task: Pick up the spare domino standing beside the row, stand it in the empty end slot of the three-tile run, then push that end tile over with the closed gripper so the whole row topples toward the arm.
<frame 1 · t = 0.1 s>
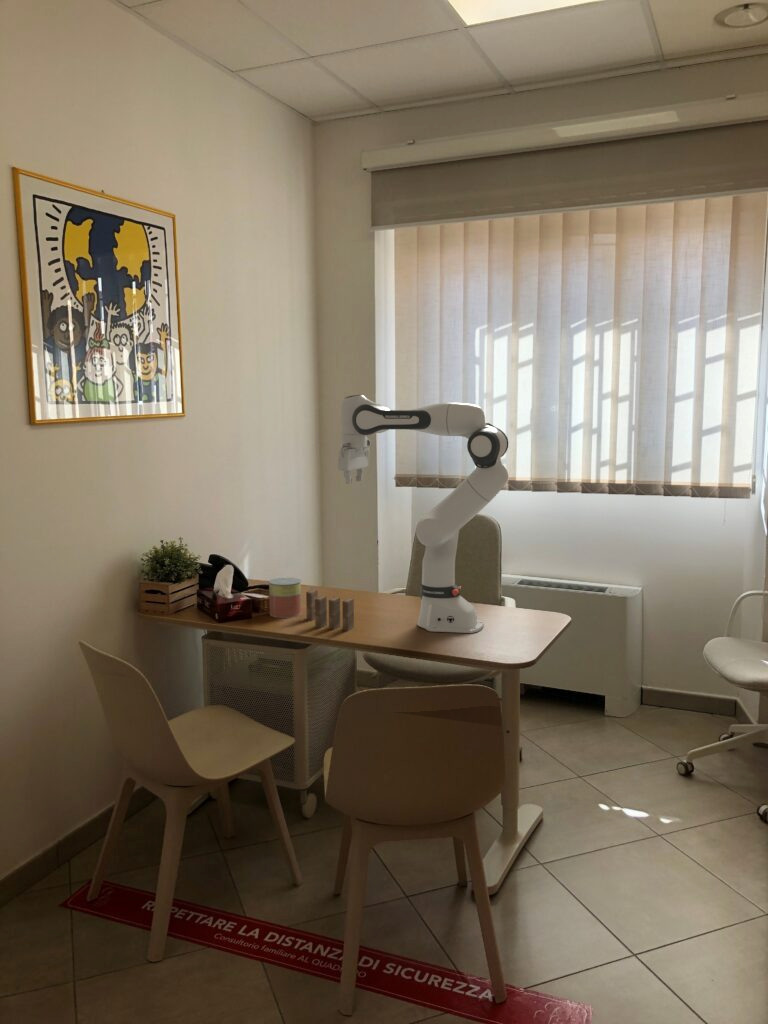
hand: (353, 482, 297), 48 cm above the table, fingers open, 8 cm apart
domino 2: (334, 627, 290), on the table
domino 1: (348, 628, 289), on the table
canned food: (285, 614, 309), on the table
domino 3: (321, 626, 292), on the table
spare domino: (312, 618, 302), on the table
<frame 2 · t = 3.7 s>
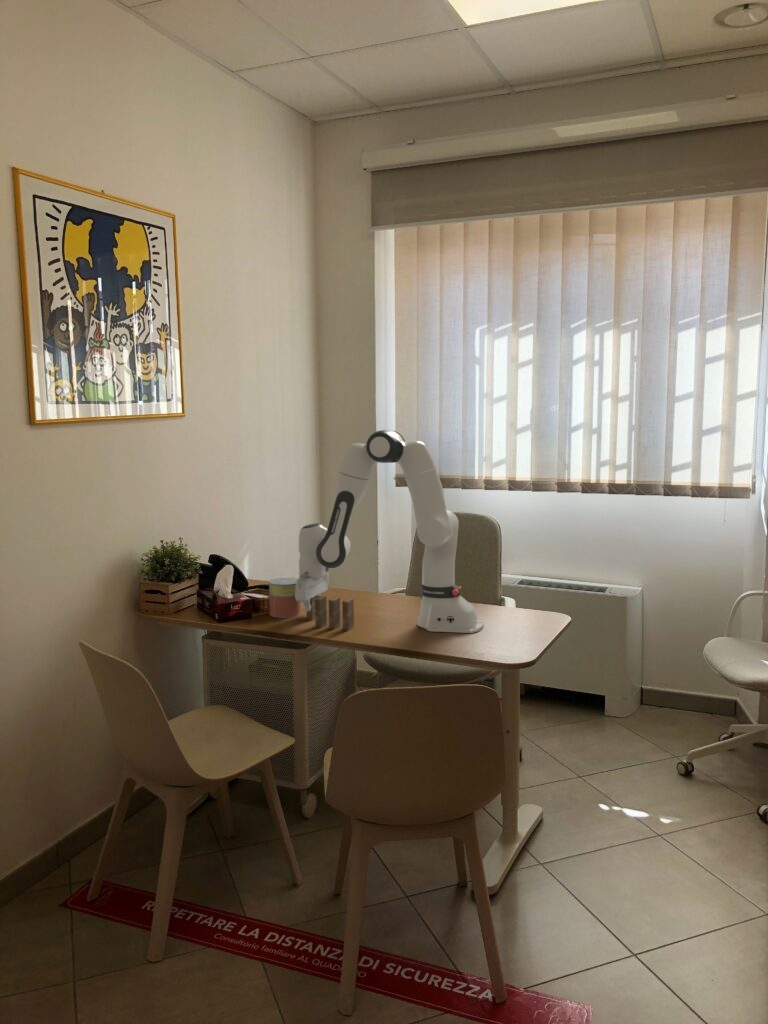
hand: (312, 608, 301), 4 cm above the table, fingers closed on spare domino, 5 cm apart
spare domino: (312, 618, 302), on the table, touching gripper
everything else where it was.
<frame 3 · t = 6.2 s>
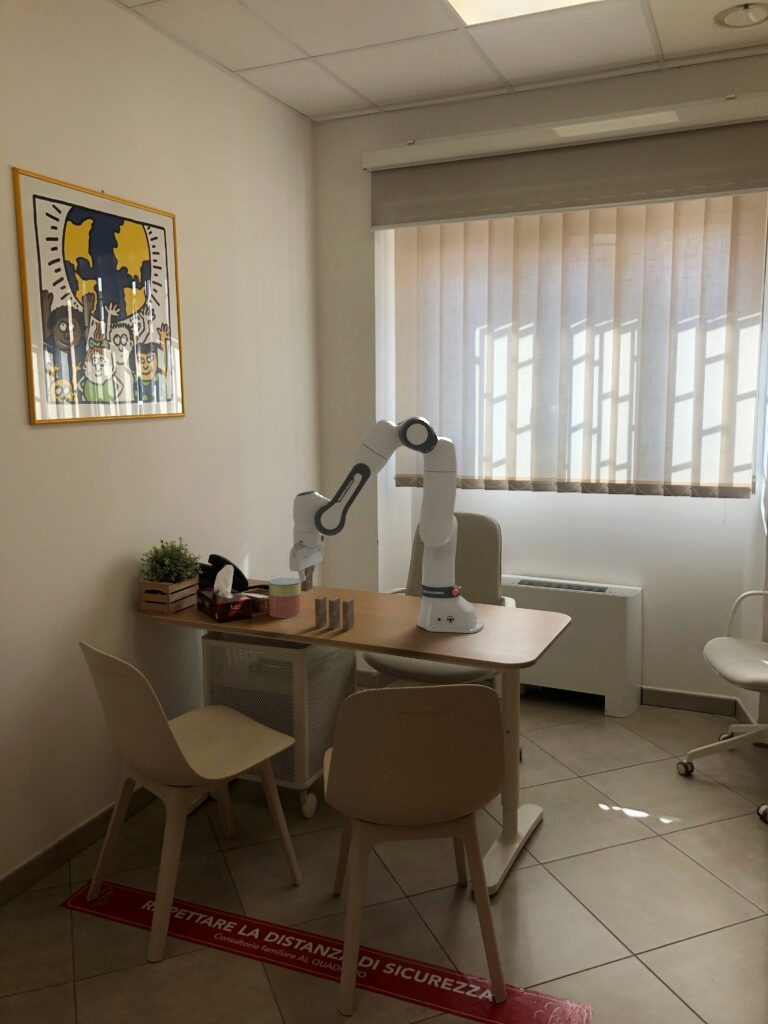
hand: (306, 579, 292), 16 cm above the table, fingers closed on spare domino, 5 cm apart
spare domino: (306, 589, 292), point 12 cm above the table, touching gripper
everything else where it was.
when the fingers open (5 cm above the table, at t = 8.5 s): spare domino stays where it is, on the table.
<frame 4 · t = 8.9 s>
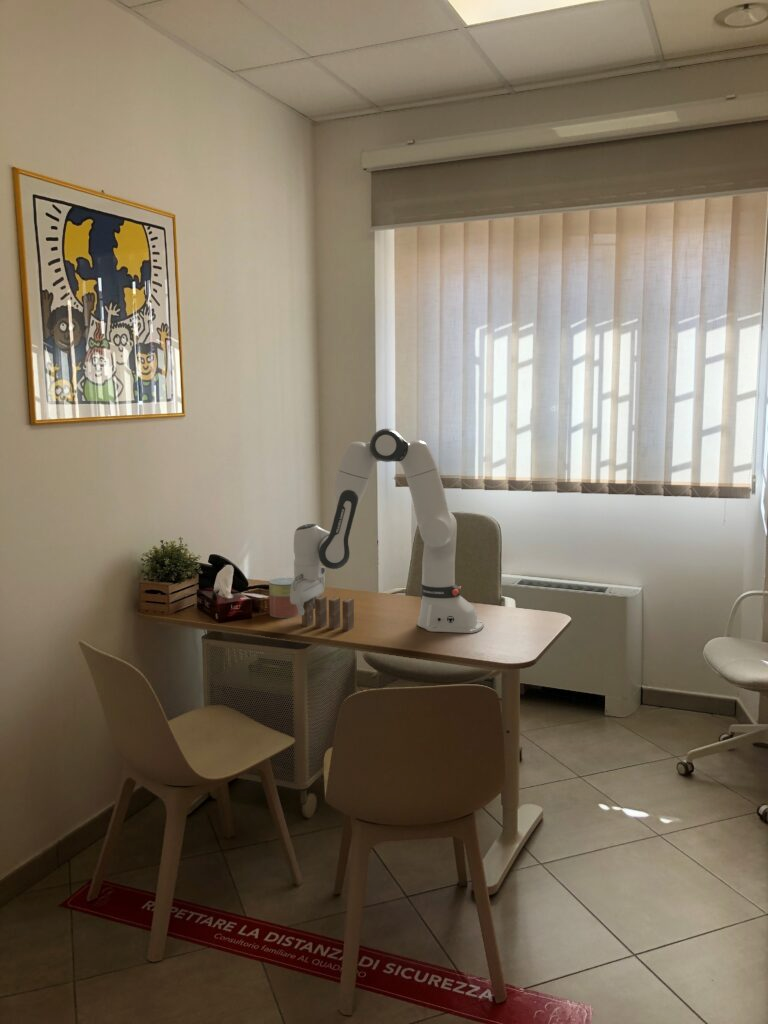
hand: (307, 611, 293), 5 cm above the table, fingers open, 8 cm apart
spare domino: (307, 624, 294), on the table
everything else where it was.
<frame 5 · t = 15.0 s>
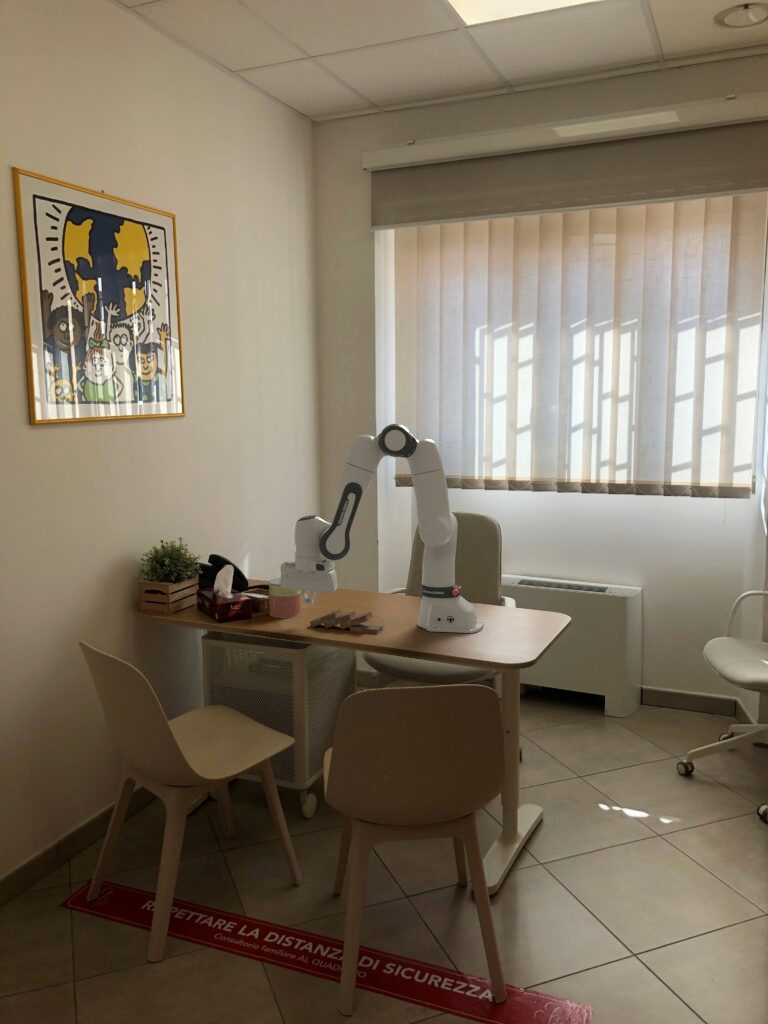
hand: (308, 603, 293), 8 cm above the table, fingers closed
domino 2: (343, 624, 289), point 1 cm above the table, tilted 68°
domino 1: (352, 628, 288), on the table, tilted 90°
domino 3: (327, 624, 291), point 1 cm above the table, tilted 68°
spare domino: (313, 622, 293), point 1 cm above the table, tilted 66°
everything else where it was.
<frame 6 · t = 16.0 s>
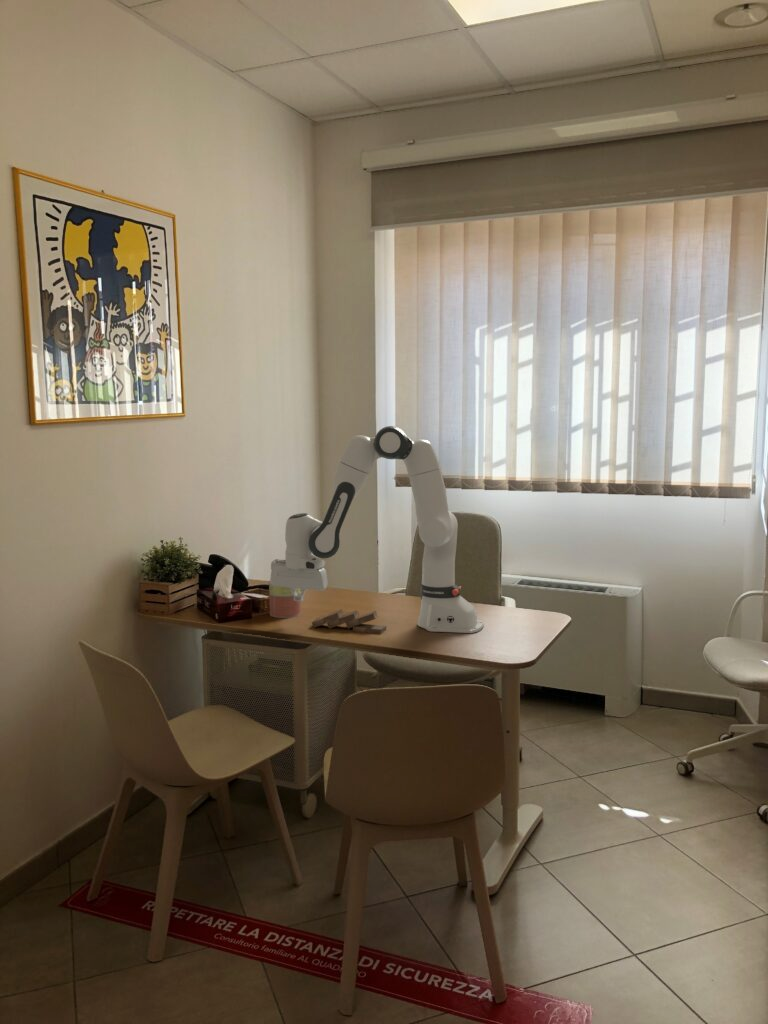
hand: (298, 600, 294), 8 cm above the table, fingers closed
domino 2: (348, 624, 289), point 1 cm above the table, tilted 69°, touching domino 1
domino 1: (355, 628, 288), on the table, tilted 90°, touching domino 2
domino 3: (329, 624, 291), point 1 cm above the table, tilted 68°, touching spare domino
spare domino: (315, 623, 292), point 1 cm above the table, tilted 67°, touching domino 3
everything else where it was.
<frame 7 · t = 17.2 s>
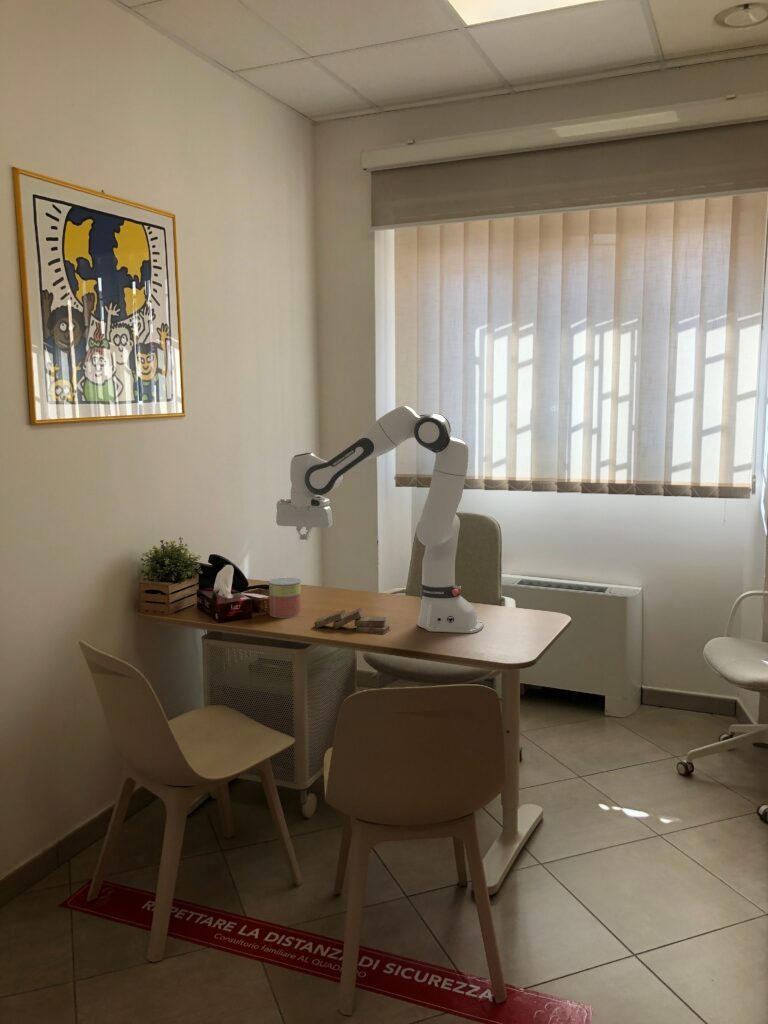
hand: (304, 539, 298), 28 cm above the table, fingers closed
domino 2: (355, 621, 288), point 2 cm above the table, tilted 89°
domino 1: (358, 628, 288), on the table, tilted 90°
domino 3: (335, 624, 290), point 1 cm above the table, tilted 61°
spare domino: (317, 623, 292), point 1 cm above the table, tilted 68°
everything else where it was.
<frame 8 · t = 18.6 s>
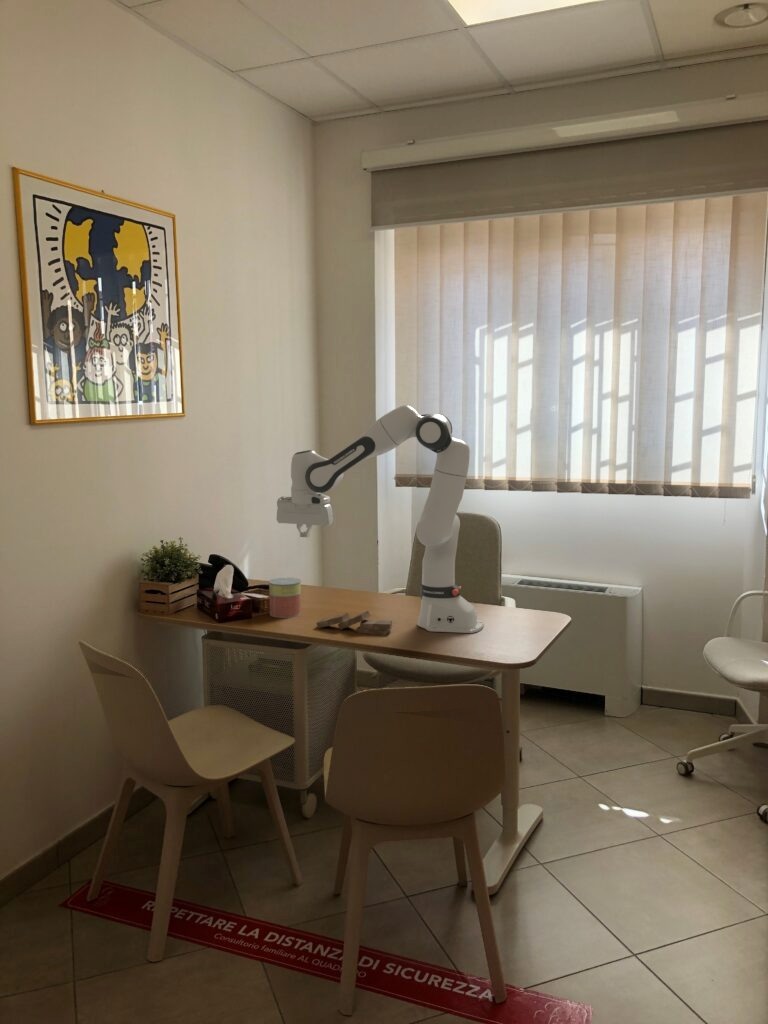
hand: (304, 537, 298), 29 cm above the table, fingers closed
domino 2: (361, 624, 285), point 2 cm above the table, tilted 90°, touching domino 1, domino 3
domino 1: (359, 629, 287), on the table, tilted 90°, touching domino 2
domino 3: (342, 625, 289), point 1 cm above the table, tilted 64°, touching domino 2, spare domino
spare domino: (320, 623, 292), point 1 cm above the table, tilted 72°, touching domino 3
everything else where it was.
at the end: domino 1 tilted 90°; spare domino tilted 73° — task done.
